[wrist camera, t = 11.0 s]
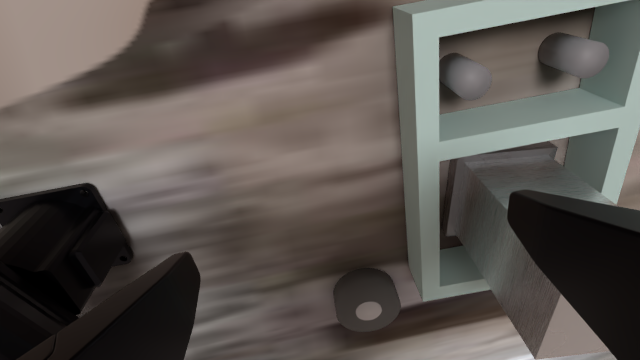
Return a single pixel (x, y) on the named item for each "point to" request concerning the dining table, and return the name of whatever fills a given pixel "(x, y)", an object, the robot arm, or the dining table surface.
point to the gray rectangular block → (517, 242)
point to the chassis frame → (508, 112)
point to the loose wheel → (366, 300)
